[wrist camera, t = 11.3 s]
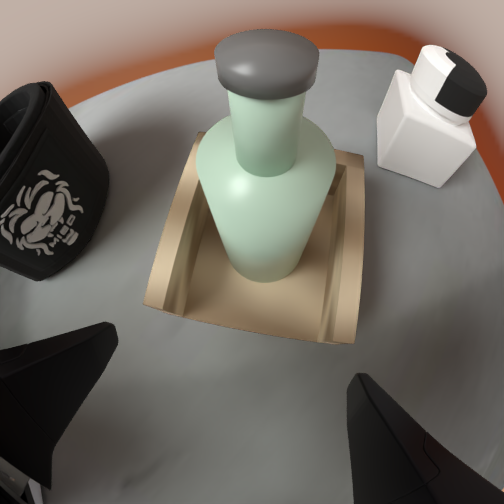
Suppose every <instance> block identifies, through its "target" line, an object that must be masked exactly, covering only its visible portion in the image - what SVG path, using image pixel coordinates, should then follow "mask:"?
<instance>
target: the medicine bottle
mask: <svg viewBox="0 0 504 504" xmlns="http://www.w3.org/2000/svg"><path fill="white" fill-rule="evenodd" d="M486 95H487V88H486V85H485V83H484V81H483V79H482V78H481V76H480V75H479V73H478V72H477V71H476V70H475V69H474V68H473V67H472V66H471V65H470V64H469V63H468V62H466V61H465V60H464V59H463V58H462V57H460V56H458V55H457V54H456V53H453V52H452V51H450V50H448V49H446V48H443V47H439V46H435V45H427V46H424V47H423V48H422V50H421V52H420V55H419V57H418V60H417V62H416V64H415V67H414V69H413V71H412V74H409V73H406V72H404V71H401V70H396V71H395V74H394V76H393V79H392V82H391V84H390V87H389V89H388V92H387V94H386V97H385V99H384V101H383V104H382V106H381V109H380V111H379V113H378V116H377V164H378V166H379V167H381V168H384V169H387V170H390V171H393V172H396V173H399V174H402V175H405V176H408V177H410V178H413V179H416V180H418V181H421V182H424V183H426V184H429V185H431V186H434V187H437V188H440V187H442V186H443V184H444V183H445V182H446V181H447V180H448V179H449V178H450V177H451V176H452V175H453V174H454V173H455V171H456V170H457V169H458V168H459V167H460V166H461V165H462V164H463V163H464V161H465V160H466V159H467V158H468V157H469V156H470V155H471V153H472V152H473V151H474V150H475V149H476V143H475V140H474V137H473V134H472V131H471V128H470V125H469V122H468V121H469V120H470V118H471V117H472V116H473V114H474V113H475V111H476V110H477V108H478V107H479V106H480V104H481V103H482V101H483V100H484V98H485V97H486Z"/></svg>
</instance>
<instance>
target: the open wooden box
mask: <svg viewBox="0 0 504 504" xmlns="http://www.w3.org/2000/svg"><path fill="white" fill-rule="evenodd" d="M206 133H207V132H198V135H197V137H196V140H195V142H194V145H193V147H192V150H191V152H190V155H189V157H188V160H187V163H186V165H185V168H184V171H183V173H182V176H181V179H180V182H179V184H178V187H177V190H176V193H175V196H174V199H173V202H172V205H171V208H170V211H169V214H168V217H167V220H166V223H165V226H164V229H163V233H162V236H161V239H160V242H159V246H158V249H157V253H156V256H155V260H154V263H153V267H152V271H151V274H150V278H149V282H148V286H147V290H146V294H145V298H144V302H143V305H146V306H149V307H151V308H154V309H157V310H160V311H163V312H164V313H167V314H171V315H175V316H179V317H183V318H188V319H192V320H196V321H201V322H205V323H210V324H215V325H219V326H224V327H229V328H234V329H239V330H244V331H250V332H255V333H261V334H267V335H272V336H278V337H285V338H291V339H298V340H305V341H312V342H320V343H327V344H354V342H355V335H356V328H357V320H358V311H359V302H360V292H361V281H362V267H363V250H364V220H365V187H364V157H363V155H359V154H354V153H350V152H345V151H341V150H336V149H334V152H335V157H336V171H335V175H334V178H333V181H332V183H331V186H330V188H329V191H328V193H327V196H326V198H325V201H324V203H323V206H322V208H321V211H320V213H319V215H318V218H317V220H316V223H315V225H314V227H313V230H312V232H311V235H310V237H309V239H308V242H307V244H306V246H305V249H304V251H303V253H302V255H301V258H300V260H299V262H298V264H297V266H296V267H295V269H294V270H293V271H292V272H291V273H290V274H289V275H287V276H286V277H284V278H282V279H280V280H278V281H275V282H270V283H259V282H254V281H251V280H249V279H246V278H245V277H243V276H241V275H240V274H239V273H238V272H237V271H236V270H235V269H234V268H233V266H232V265H231V263H230V261H229V258H228V255H227V253H226V250H225V248H224V245H223V242H222V240H221V237H220V234H219V232H218V229H217V226H216V224H215V221H214V218H213V215H212V213H211V210H210V207H209V204H208V202H207V199H206V196H205V193H204V191H203V188H202V185H201V182H200V180H199V177H198V173H197V169H196V154H197V150H198V147H199V144H200V142H201V140H202V139H203V137H204V136H205V134H206Z"/></svg>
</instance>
